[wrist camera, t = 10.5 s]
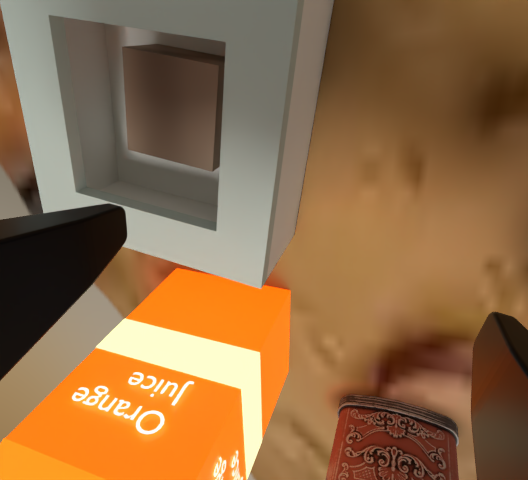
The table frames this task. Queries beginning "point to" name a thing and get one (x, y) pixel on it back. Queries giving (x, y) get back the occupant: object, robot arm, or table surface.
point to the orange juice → (165, 390)
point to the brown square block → (174, 103)
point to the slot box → (157, 169)
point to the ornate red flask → (392, 442)
